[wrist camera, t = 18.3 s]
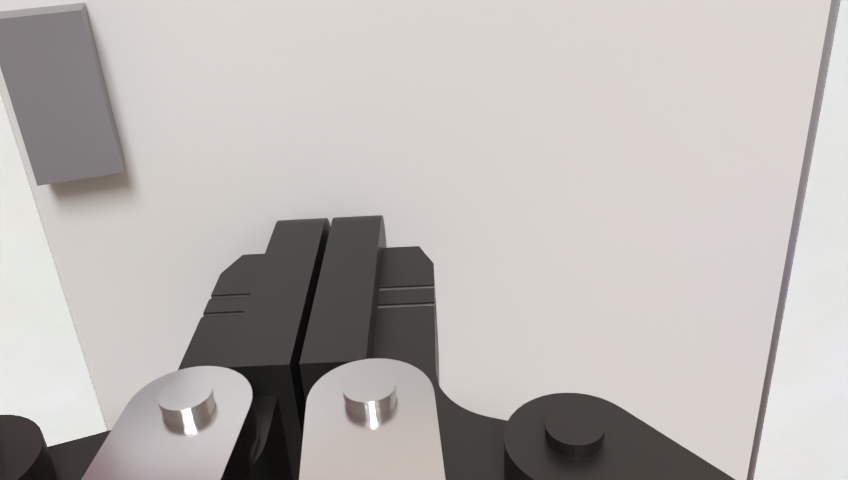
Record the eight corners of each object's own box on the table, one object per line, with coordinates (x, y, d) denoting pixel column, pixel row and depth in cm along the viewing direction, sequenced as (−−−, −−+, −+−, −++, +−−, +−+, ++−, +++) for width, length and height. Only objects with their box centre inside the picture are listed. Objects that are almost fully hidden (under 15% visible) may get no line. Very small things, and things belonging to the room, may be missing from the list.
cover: (738, 459, 18) (776, 500, 17) (177, 615, 15) (178, 677, 14) (847, -192, 12) (917, -197, 11) (-52, -131, 9) (-83, -128, 8)
